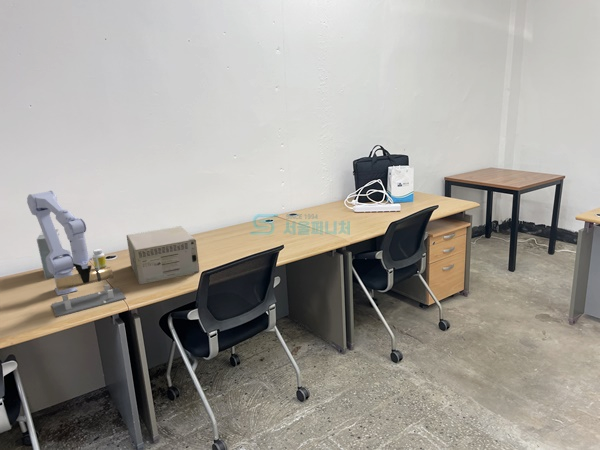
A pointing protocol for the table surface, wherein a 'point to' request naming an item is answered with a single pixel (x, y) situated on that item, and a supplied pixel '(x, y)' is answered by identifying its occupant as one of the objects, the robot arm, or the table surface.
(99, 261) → the supplement bottle
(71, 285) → the brass tube
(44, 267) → the hard drive box
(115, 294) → the gray cradle stand
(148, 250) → the beige vented electronics case
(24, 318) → the table surface
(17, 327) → the table surface
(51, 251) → the robot arm
